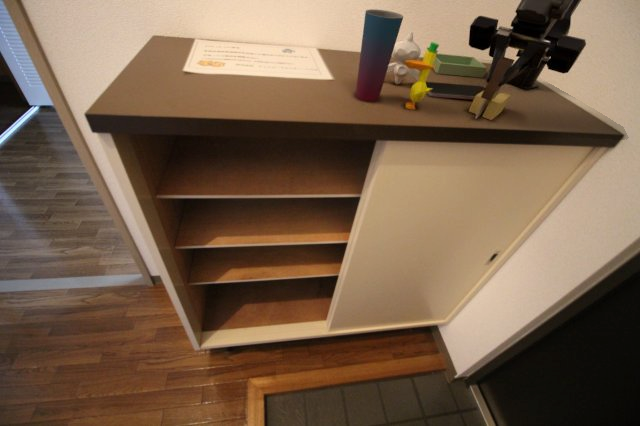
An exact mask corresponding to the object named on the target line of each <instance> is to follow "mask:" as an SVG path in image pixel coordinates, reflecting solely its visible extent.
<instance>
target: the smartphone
mask: <svg viewBox="0 0 640 426" xmlns="http://www.w3.org/2000/svg"><path fill="white" fill-rule="evenodd" d="M425 82H426V86H427V88H433V89H432V90H430V91H429V92H428V93H427V95H428V96H430V97H434V98H446V99H447V98H449V99H460V100H472V101H474V98H475V96H476V95H477V94H479V93H480V92H482V91H484V90H485V88H486V87H485V86H482V85H474V84H459V83H458V84H457V83H446V82H436V81H435V82H432V81H425Z"/></svg>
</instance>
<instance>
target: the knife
mask: <svg viewBox="0 0 640 426" xmlns="http://www.w3.org/2000/svg"><path fill="white" fill-rule="evenodd" d="M514 63H515V59H513V58H509V57H503V58H501V59H499V61H498V63H497V65H496V67H495V69H494V71H493V73H492V76H491V78H490V80H489V82H488V83H487V82H486V83H487V84H486V85H485V87H484V88H485V90H484V92H483V94H482V96H481V98H484V101H483V103H482V105H481V107H480V109H479V111H478V113H477V114H475V117H474V119H475V120H476V119H478V118H479V117H481V116H482V115H483V113H484V111H485V109H484V108H485V106H486V105H487V103H488V101H489V100H490V101H491V100H492V99H494V98H495V97H496V96H497V95H498V92H499V90H500V89H501V87H499V86H498V85H499V83H500V81H501V79H502V78H503V77H504V75H505V74H506V73H507V71H508V70H509V69H510V68H511V66H512V65H513V64H514Z"/></svg>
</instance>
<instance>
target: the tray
mask: <svg viewBox="0 0 640 426" xmlns="http://www.w3.org/2000/svg"><path fill="white" fill-rule="evenodd" d="M433 65H434V67H435V68H434V69H433V70H432V71H434V72H435V73H436V74H439V75H448V76H461V77H471V78H480V79H481V78H482V79H483V78H484V76H485V74H486V72H487V71H488V67H487V66H486V65H485V64H483V63H482V62H480V61H479V60H478V59H477V58H475V57H474V56H467V55H456V54H447V53H437V55H436V57H435V60H434V63H433Z"/></svg>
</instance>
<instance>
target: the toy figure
mask: <svg viewBox="0 0 640 426" xmlns="http://www.w3.org/2000/svg"><path fill="white" fill-rule="evenodd" d="M439 46H440V44H438V43H436V42H432V41H431V42H430V45H429V46H428V47H426V50H425V52H424V55H423V59H422V60H421V59H417V60H411V59H410V60H406V61H405V64H406V66H407V67H408V68H411V69H417V70H418V71H419V72H420V73H419V78H418V81H417V80H416V81H415V82H414V83H413V84H412V85H411V88H410V90H409V98H410V100H411V101H412V102H410V101H408V102H405V105H404V106H405V108H406V109H408V110H416V103H419V102H420V101H421V100H422V99H423V98H424V97H425V96H427V95H428V92H429V91H430V90H432V89H433V88H427V86H426V82H427V79H428V77H429V75H430V73H431V71H434V70H433V69H434V68H435V67H434V65H433V63H434V60H435V57H436V55H437V54H438V52H439V51H438V48H439Z"/></svg>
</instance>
